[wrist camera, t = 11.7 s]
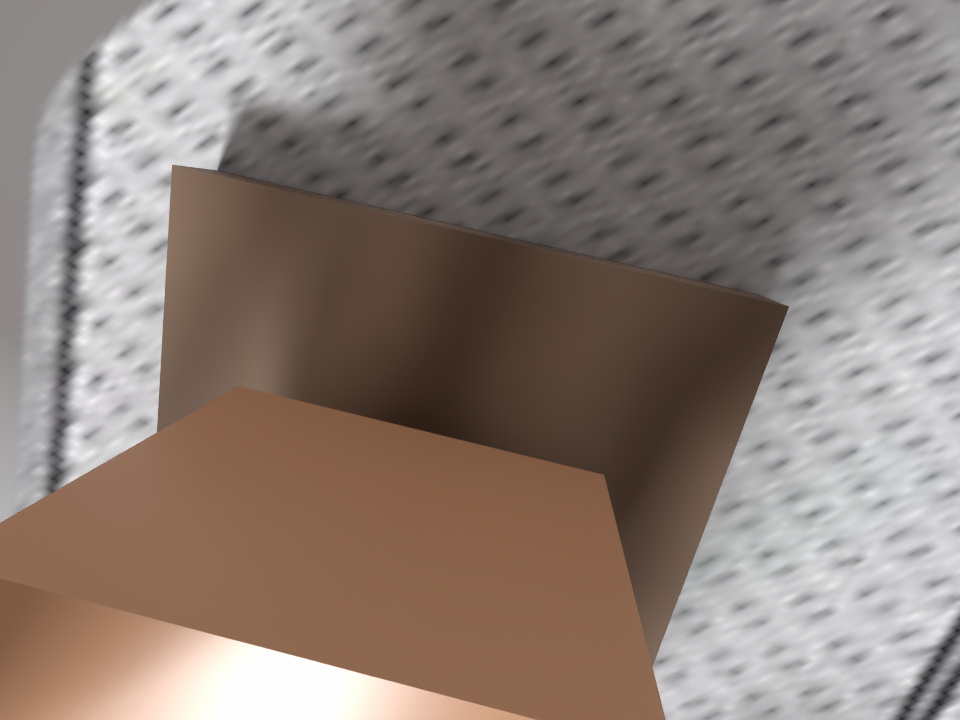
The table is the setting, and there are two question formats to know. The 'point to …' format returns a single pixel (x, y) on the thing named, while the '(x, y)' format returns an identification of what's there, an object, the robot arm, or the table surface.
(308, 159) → the table surface
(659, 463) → the stand
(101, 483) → the tan cube with window
